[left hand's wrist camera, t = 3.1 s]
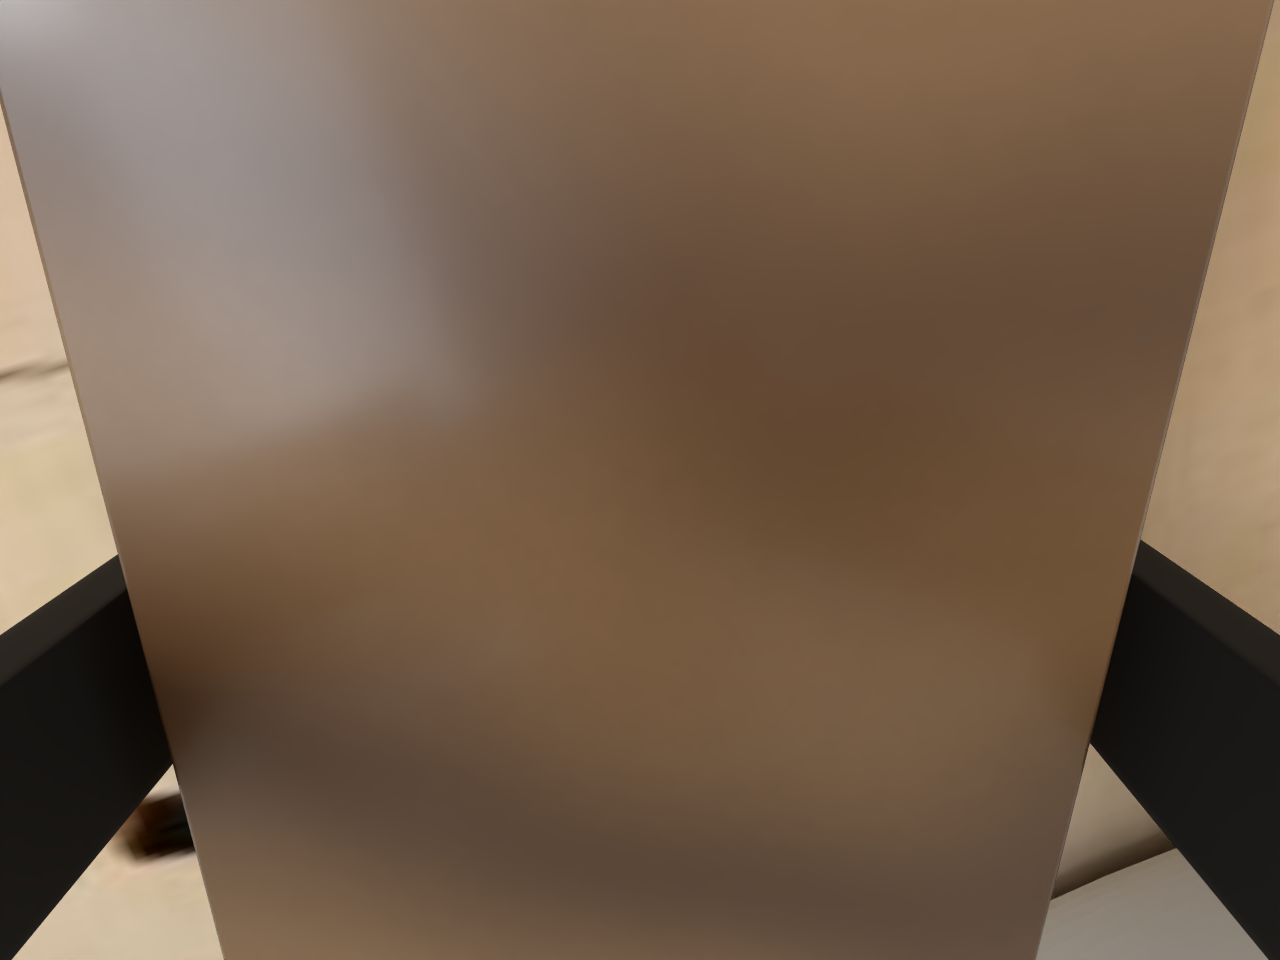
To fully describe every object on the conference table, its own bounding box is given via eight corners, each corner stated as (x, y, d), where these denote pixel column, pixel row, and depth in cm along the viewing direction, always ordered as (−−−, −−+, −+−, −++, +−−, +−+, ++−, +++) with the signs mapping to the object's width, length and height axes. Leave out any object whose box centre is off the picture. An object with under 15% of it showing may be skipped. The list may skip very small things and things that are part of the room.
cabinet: (340, -350, 15) (-570, -2045, 4) (920, -348, 15) (1782, -2014, 4) (436, 574, 21) (223, 970, 10) (831, 573, 21) (1036, 966, 10)
